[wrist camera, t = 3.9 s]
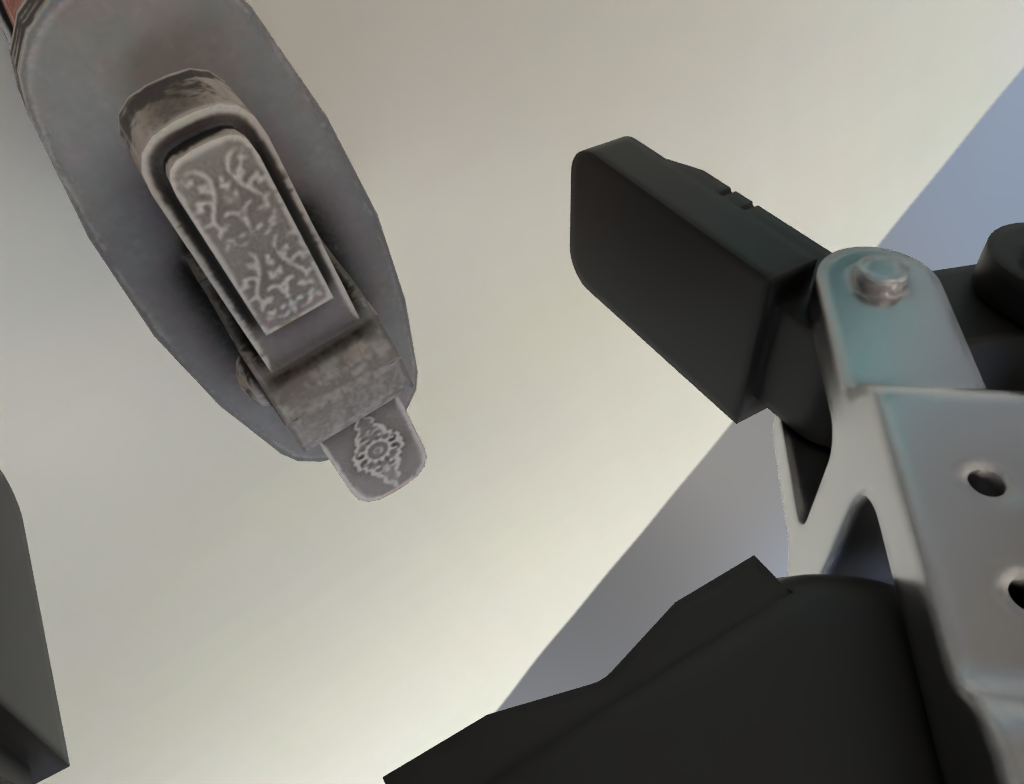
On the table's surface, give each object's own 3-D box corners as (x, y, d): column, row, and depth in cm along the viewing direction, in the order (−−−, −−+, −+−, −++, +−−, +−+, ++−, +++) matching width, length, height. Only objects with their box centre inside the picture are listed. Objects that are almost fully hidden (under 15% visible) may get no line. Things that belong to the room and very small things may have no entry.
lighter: (302, 207, 19) (527, 487, 13) (171, 278, 18) (340, 610, 12) (101, -193, 13) (342, -35, 7) (-108, -110, 12) (-59, 152, 6)
